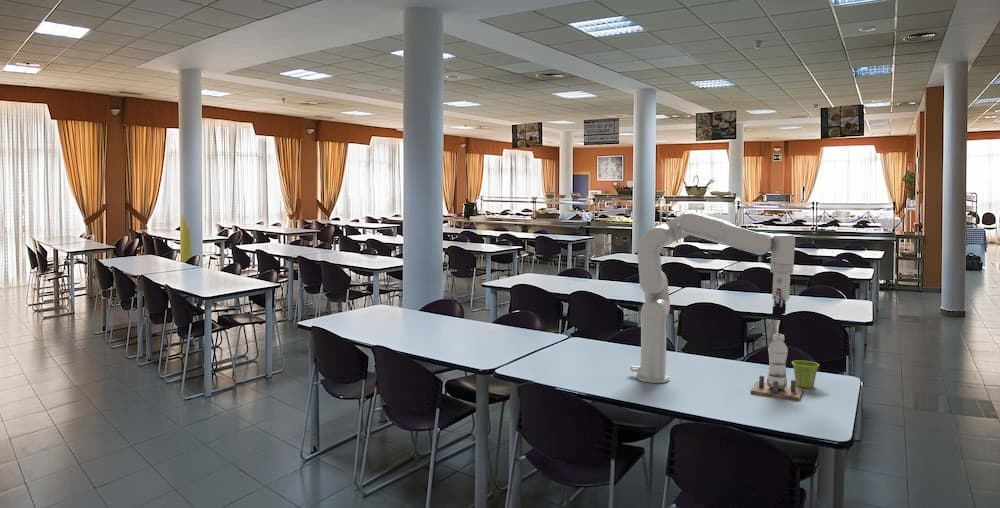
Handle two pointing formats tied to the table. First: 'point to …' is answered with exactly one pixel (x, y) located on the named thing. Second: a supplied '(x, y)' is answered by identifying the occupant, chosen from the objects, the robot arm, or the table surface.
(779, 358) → the plastic bottle
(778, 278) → the robot arm
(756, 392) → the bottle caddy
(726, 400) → the table surface
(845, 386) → the table surface
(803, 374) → the plant pot
